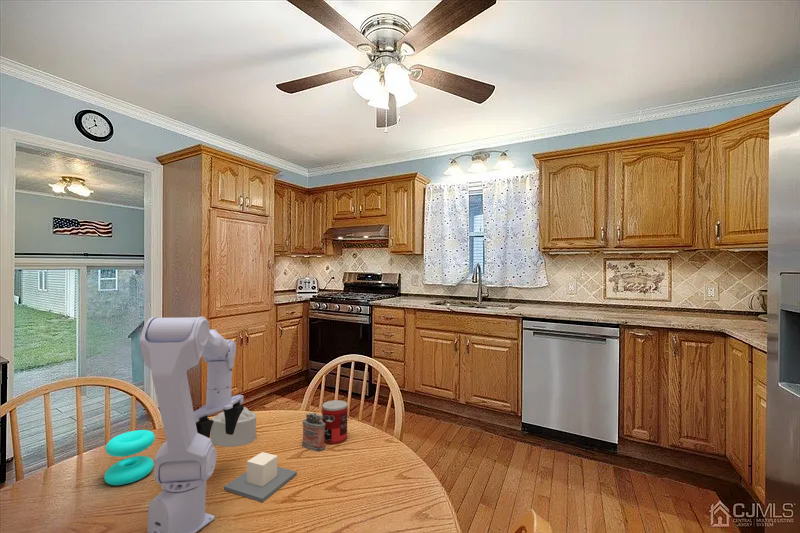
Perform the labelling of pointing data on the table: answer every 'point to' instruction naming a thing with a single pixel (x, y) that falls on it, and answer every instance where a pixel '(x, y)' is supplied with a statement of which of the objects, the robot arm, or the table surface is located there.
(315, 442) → the lighter
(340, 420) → the canned food
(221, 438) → the lumpy-topped squat cylinder
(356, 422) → the table surface
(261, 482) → the cube
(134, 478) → the donuts
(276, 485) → the grey square plate
